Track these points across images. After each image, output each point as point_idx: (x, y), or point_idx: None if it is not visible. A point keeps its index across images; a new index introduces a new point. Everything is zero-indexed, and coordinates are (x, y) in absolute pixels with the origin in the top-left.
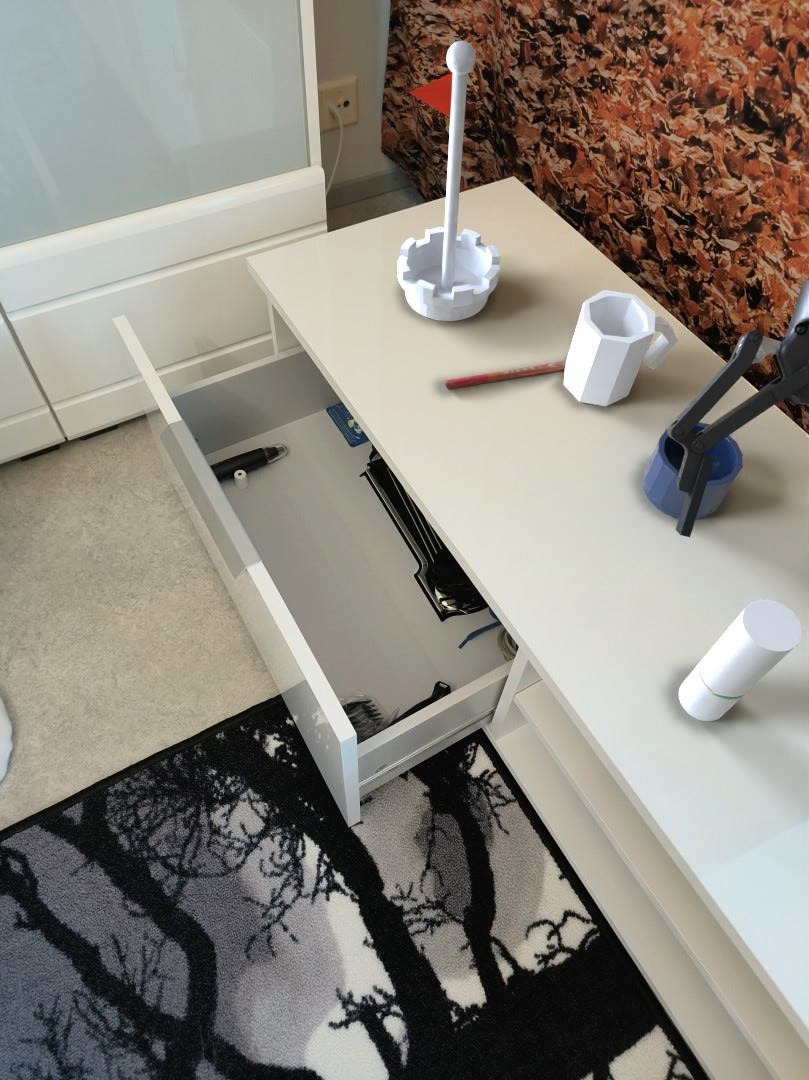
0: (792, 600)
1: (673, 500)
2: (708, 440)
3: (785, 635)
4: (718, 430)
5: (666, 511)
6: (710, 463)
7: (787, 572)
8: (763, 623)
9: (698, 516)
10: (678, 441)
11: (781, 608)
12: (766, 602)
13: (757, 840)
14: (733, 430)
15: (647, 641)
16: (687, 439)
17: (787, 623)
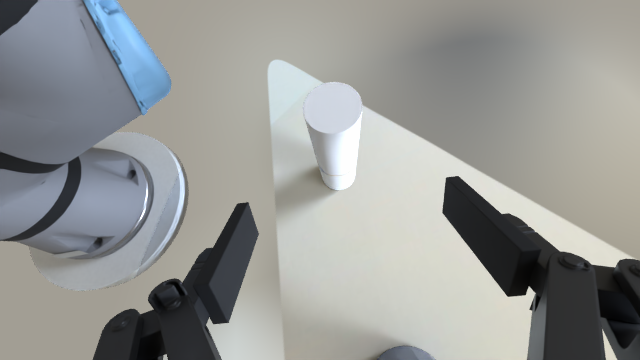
0: (286, 287)
1: (420, 355)
2: (569, 277)
3: (318, 101)
4: (579, 301)
5: (416, 348)
6: (517, 242)
7: (293, 318)
8: (340, 105)
9: (384, 354)
10: (609, 268)
11: (326, 127)
12: (342, 127)
13: (292, 107)
14: (552, 310)
15: (386, 201)
16: (601, 275)
17: (317, 115)
